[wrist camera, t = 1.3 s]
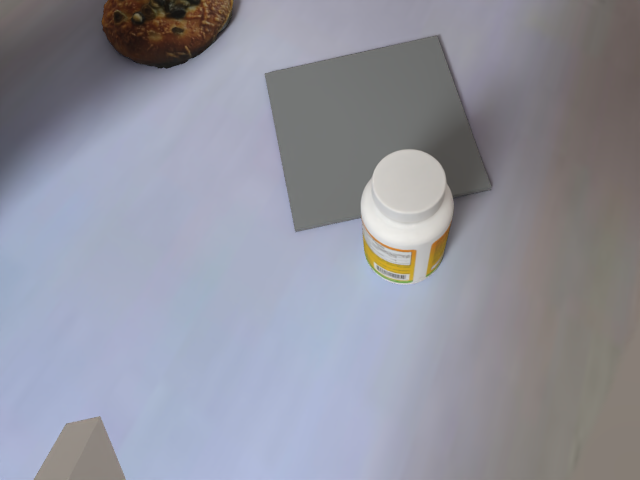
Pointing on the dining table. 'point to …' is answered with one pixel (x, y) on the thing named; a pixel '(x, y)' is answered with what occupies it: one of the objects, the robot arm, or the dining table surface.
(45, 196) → the dining table surface
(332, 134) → the mat
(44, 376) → the dining table surface
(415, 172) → the supplement bottle
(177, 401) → the dining table surface
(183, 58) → the bread roll
